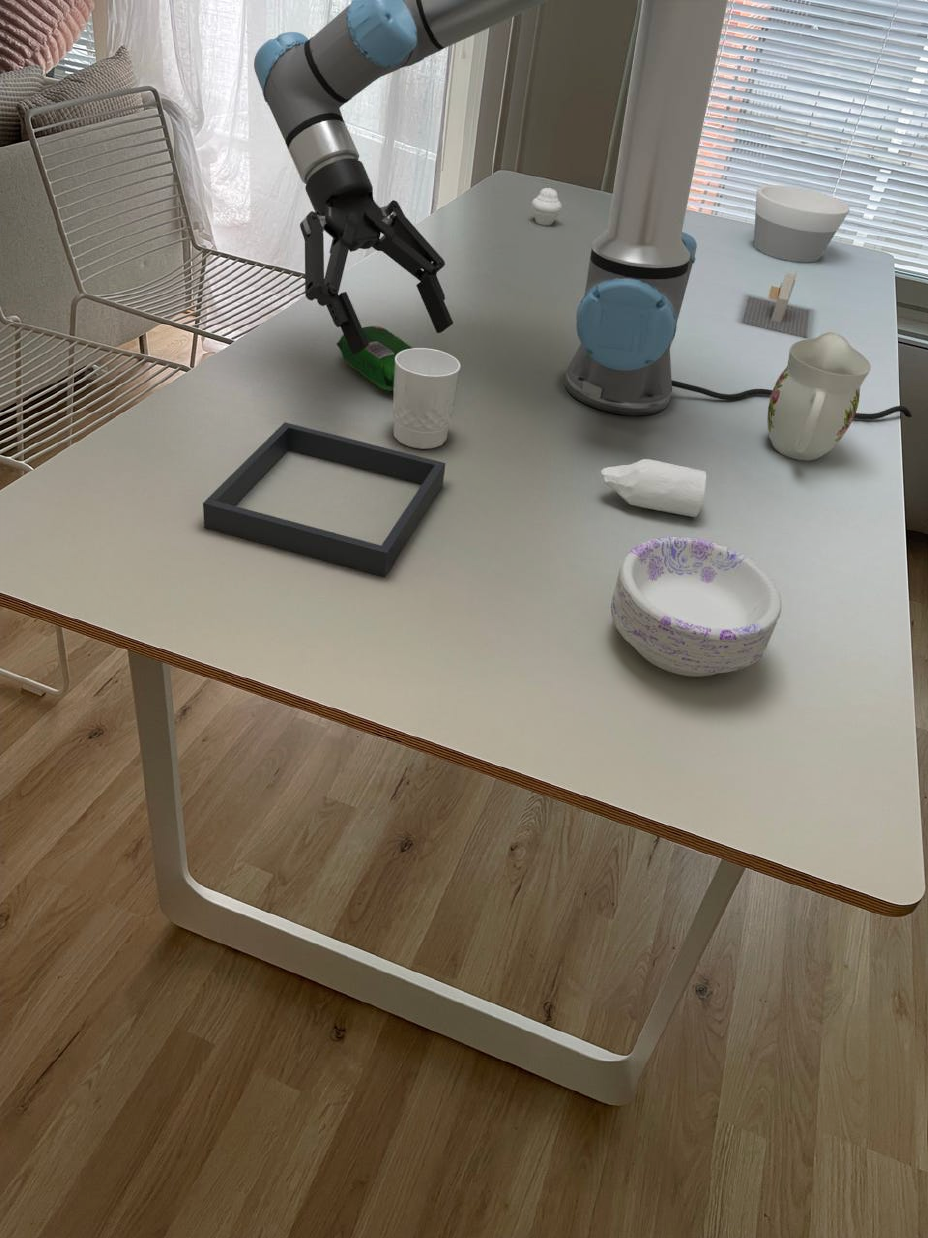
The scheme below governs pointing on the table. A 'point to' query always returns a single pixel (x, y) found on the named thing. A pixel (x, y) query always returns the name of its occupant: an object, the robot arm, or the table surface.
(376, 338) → the snack package
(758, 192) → the bowl
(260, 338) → the table surface
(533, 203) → the muffin
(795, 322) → the architectural model
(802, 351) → the pitcher
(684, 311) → the table surface
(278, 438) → the dark grey square frame
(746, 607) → the paper bowls
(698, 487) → the white tapered cylinder
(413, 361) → the white cup
